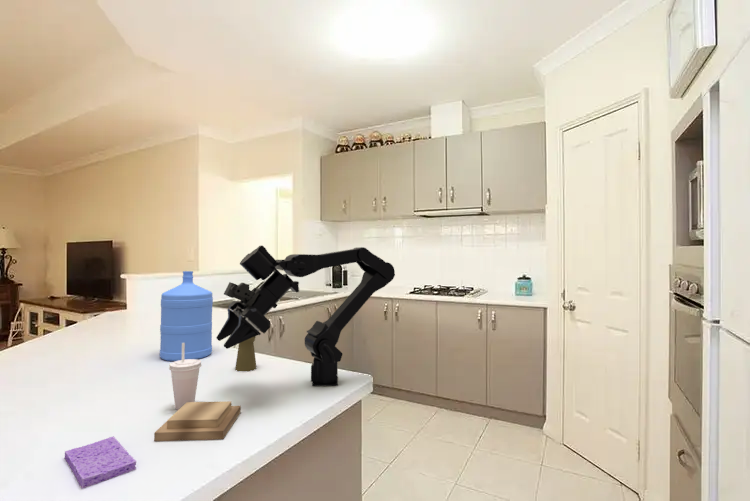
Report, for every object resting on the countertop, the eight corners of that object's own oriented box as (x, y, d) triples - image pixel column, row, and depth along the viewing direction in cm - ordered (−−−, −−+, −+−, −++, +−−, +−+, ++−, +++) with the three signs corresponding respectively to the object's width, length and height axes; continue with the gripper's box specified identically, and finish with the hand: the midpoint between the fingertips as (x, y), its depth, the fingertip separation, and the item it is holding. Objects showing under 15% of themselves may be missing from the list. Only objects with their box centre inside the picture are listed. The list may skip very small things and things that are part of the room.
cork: (250, 372, 111) (250, 333, 111) (230, 370, 112) (231, 332, 113) (260, 366, 117) (260, 329, 117) (242, 365, 118) (242, 329, 119)
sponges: (81, 492, 55) (81, 479, 55) (63, 460, 64) (64, 449, 64) (137, 472, 60) (137, 460, 60) (113, 445, 69) (114, 435, 69)
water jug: (198, 362, 121) (200, 272, 122) (149, 361, 122) (150, 272, 122) (219, 350, 137) (220, 270, 137) (175, 349, 137) (176, 270, 138)
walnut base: (240, 412, 82) (240, 398, 83) (223, 439, 71) (223, 422, 71) (182, 414, 82) (182, 399, 82) (154, 441, 70) (154, 424, 70)
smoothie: (175, 401, 88) (177, 340, 89) (205, 401, 89) (206, 339, 89) (162, 413, 82) (164, 346, 82) (194, 412, 82) (195, 346, 83)
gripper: (237, 269, 100) (189, 314, 95) (256, 271, 85) (200, 326, 79) (267, 298, 104) (223, 343, 98) (290, 306, 89) (240, 361, 83)
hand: (221, 343), depth 89 cm, fingers open, 9 cm apart
